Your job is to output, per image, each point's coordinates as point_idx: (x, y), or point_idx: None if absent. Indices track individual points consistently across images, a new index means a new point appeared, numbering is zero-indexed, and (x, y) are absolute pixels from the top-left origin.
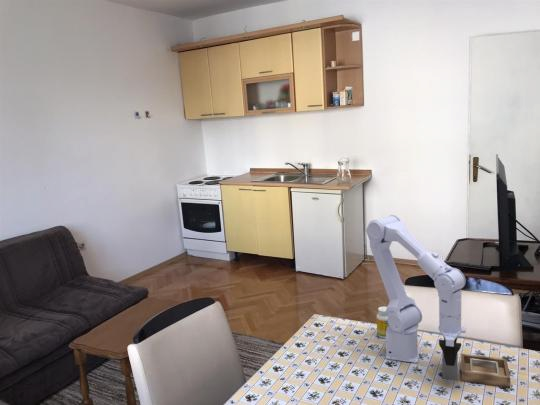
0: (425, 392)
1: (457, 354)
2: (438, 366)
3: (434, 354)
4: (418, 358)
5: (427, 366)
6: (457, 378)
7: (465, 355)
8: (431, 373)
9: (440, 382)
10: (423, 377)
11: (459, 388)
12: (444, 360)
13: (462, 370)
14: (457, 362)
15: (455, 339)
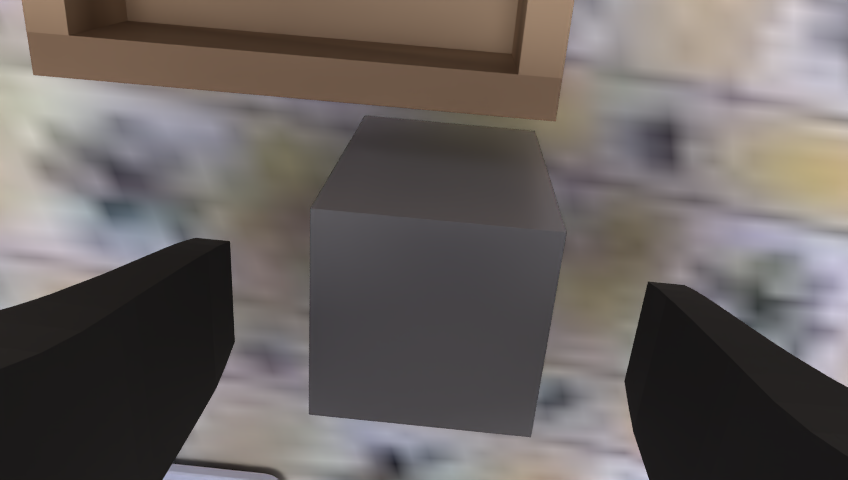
0: None
1: (331, 211)
2: (276, 299)
3: None
4: (202, 472)
5: (307, 395)
6: (537, 139)
7: (66, 14)
8: None
9: (595, 303)
10: (523, 438)
11: (699, 124)
12: (535, 397)
13: (533, 105)
14: (559, 222)
15: (98, 354)
